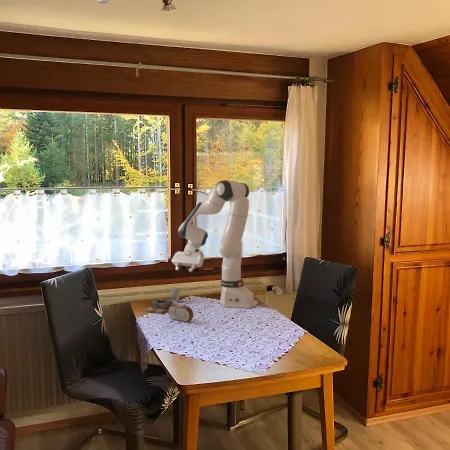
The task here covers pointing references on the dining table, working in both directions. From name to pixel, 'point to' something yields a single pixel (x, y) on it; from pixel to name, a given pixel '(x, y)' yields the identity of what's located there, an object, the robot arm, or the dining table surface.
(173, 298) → the key block
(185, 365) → the dining table surface
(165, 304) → the socket board
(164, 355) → the dining table surface
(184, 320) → the tin
